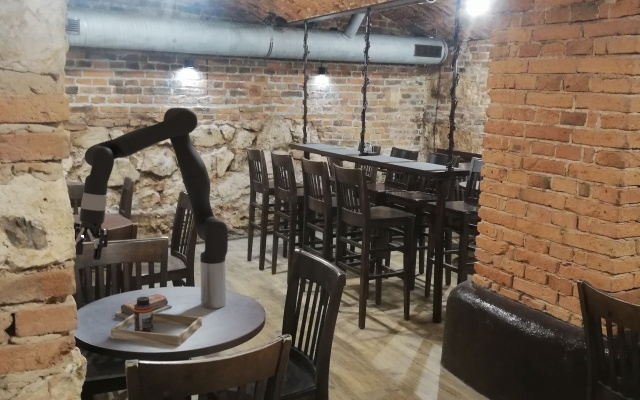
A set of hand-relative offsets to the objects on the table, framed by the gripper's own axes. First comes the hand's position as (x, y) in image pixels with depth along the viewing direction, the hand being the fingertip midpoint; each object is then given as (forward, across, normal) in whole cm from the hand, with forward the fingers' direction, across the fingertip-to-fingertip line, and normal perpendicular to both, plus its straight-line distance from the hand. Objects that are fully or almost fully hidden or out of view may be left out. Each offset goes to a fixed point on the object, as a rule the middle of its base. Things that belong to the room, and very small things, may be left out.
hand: (87, 257), depth 208 cm
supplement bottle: (+24, -13, -16) cm, 31 cm away
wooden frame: (+23, -18, -18) cm, 34 cm away
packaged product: (+22, +1, -29) cm, 37 cm away
